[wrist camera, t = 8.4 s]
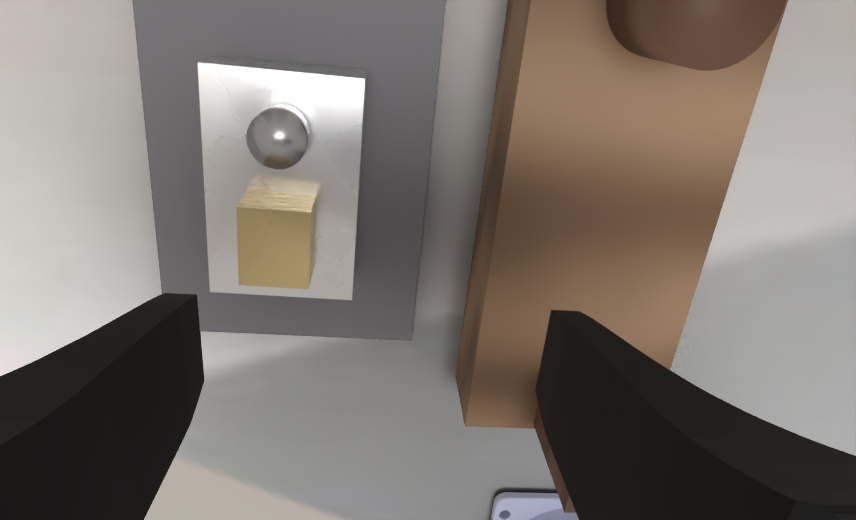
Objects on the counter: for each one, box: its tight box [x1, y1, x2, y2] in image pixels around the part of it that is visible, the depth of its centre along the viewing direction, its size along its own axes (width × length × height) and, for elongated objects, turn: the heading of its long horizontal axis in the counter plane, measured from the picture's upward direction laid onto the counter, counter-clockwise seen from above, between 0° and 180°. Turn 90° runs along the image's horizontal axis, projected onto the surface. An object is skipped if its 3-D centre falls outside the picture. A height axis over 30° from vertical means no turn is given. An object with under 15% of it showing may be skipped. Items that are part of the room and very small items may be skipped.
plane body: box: [456, 0, 788, 513], centre depth 18 cm, size 16×7×7 cm, turn 175°
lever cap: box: [198, 55, 367, 300], centre depth 18 cm, size 7×4×4 cm, turn 174°
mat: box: [133, 0, 446, 340], centre depth 20 cm, size 12×9×1 cm
